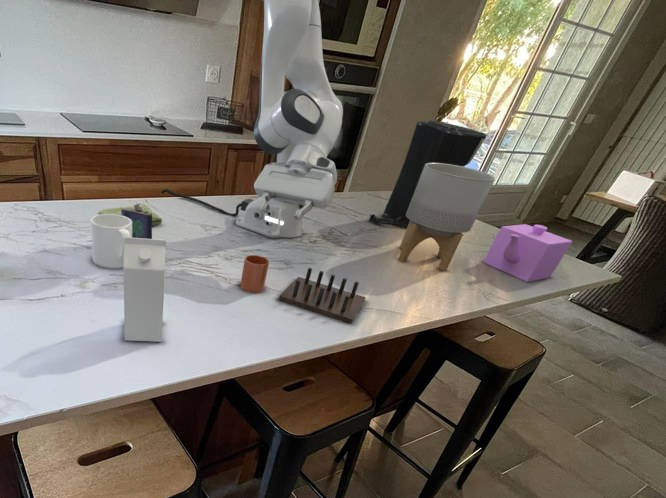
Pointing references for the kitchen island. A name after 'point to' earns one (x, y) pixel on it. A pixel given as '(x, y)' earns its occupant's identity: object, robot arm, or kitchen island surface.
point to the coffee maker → (428, 147)
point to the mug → (109, 239)
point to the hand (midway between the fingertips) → (280, 214)
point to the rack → (324, 297)
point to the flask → (139, 221)
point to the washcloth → (155, 218)
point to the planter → (444, 208)
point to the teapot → (527, 251)
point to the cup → (254, 273)
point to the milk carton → (143, 288)
